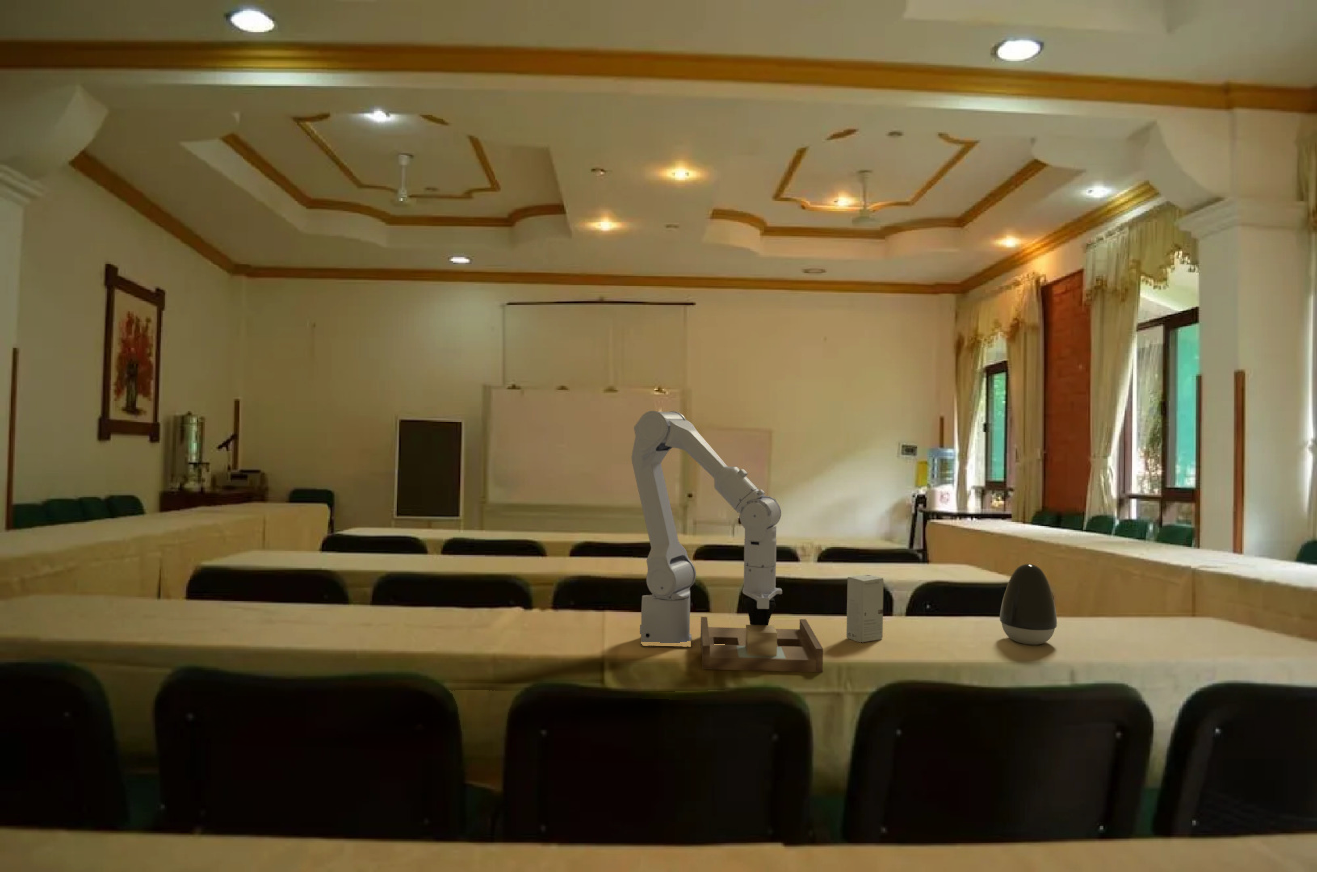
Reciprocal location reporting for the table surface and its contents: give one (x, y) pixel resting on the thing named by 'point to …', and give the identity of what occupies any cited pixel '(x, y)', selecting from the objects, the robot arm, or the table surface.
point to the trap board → (792, 655)
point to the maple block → (761, 640)
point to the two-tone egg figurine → (1028, 607)
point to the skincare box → (865, 608)
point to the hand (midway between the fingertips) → (758, 639)
